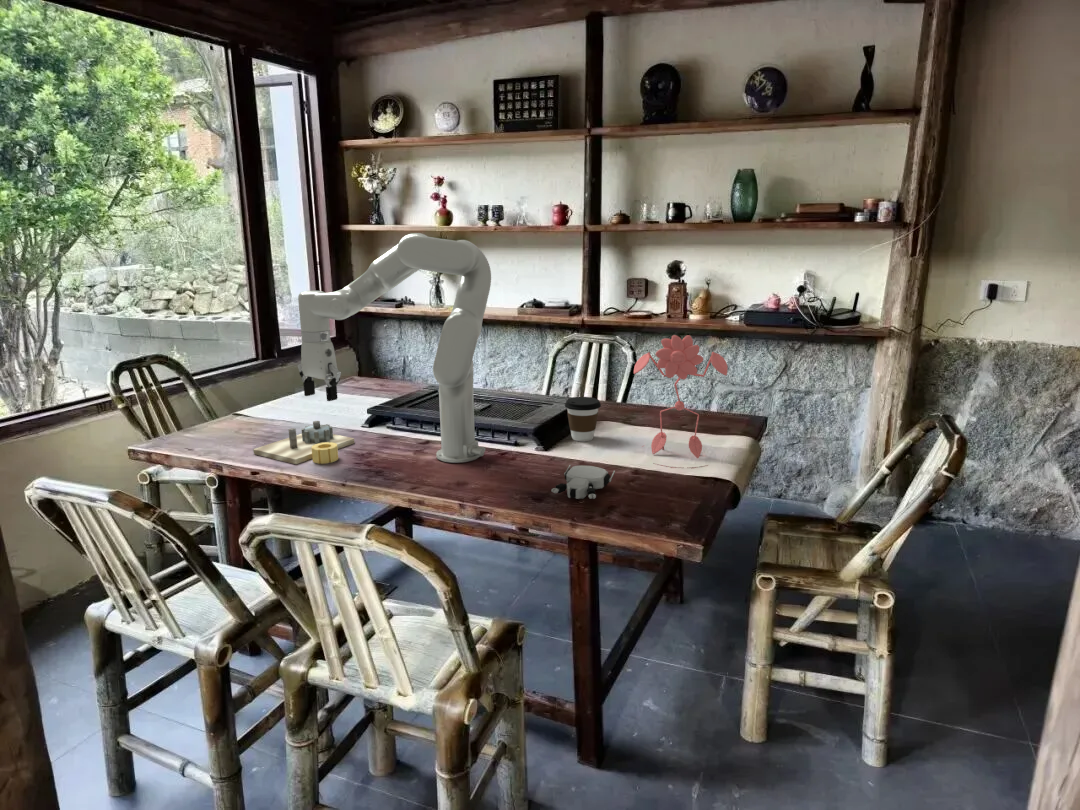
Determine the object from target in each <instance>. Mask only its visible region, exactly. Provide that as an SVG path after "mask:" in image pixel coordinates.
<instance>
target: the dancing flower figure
mask: <svg viewBox="0 0 1080 810" xmlns="http://www.w3.org/2000/svg"><path fill="white" fill-rule="evenodd" d="M660 342H661V343H660V344H661V345H662V347H663V348H659V349H657V350H656V352H655V357H656V358H658V360H657V362H656V361H655V359H654V358H653V357H652V356H653V355H651V352H650V351H649V352H647V353H643V355H642V356H640V357H639V358H638V360H637V361H636V362H635V364H634V368H633V374H634V375H637V374H638V373H639V372H640V371H642V370H643V369H644V368H645V367H646V366H648V363H649V362H650V360H651V361H652V362H653V364H654V365H655V366H656V367H655V368H657V370H658V371H659V373H661V375H662V376H663V378H664V377H667V379H672V378H674V376H675V375H676V376H677V377H678V378H677V379H676V380H675V382H674V385H673V386H674V388H675V389H674V390H675V393H676V396H677V401H675V403H674V406H672V407H669V408H666V409H662V410H660V411H659V420H660V422H659V423H660V432H658V433H657V434H656V435H655V436H654V437H653V439H652V442H651V445H650V447H651V454H652V455H655V454H657V453H659V452H661V450H662V451H664V450H665V445H666V442H667V434H666V433H665V432H664V431H663V423H662V422H663V420H662V413H663V412H666V411H668V410H672V409H675V410H677V411H683V410H686V411H687V412H690V413H693V414H695V415H697V419H696V423H695V424H696V425H695V429H694V434H693V435H691V436H689V439H688V448H689V451H690V453H692V455H693V456H694V457H695V458H696V459H700V456H701V454H702V451H703V444H702V441H701V439H700V438H699V437H698V436H697V432H698V424H699V419H700V414H699V413H697V412H695V411H692V410H691V409H689V408H687V407H685V403H684V401H682V400H680V395H679V390H678V386H677V385H678V383H679V381H680V380H687V377H688V375H690V376H697V377H701V378H704V377H705V375H706V374H707V372H708V369H709V366H710V364H711V365H712V367H713V368H714V369H715V370H716V371H717V372H718V373H720V374H722V375H723V376H727V374H728V364H727V361H726V359H725V358H724V357H723V356H722V355H720V354H719V353H717V352H715V351H712V352H711V355H710V357H709V360H708V362H707V365H706V367H705V370H704V372H703V374H700V373H698V368H697V367H696V366H698V365H700V364H701V363H703V361H704V357H703V355H702V356H701V355H700V354H699V352H700V346H699V345H698V344H694V340H693V338H692V336H691V335H690V334H689V335H687V334H686V335H685V336H684V337H683V339H682V338H681V337H680V336H678V335H677V334H676V335H675V334H673V335H672V336H671V339H670V338H666V337H665V338H662V339H661V341H660ZM662 369H664V371H665V372H663V370H662ZM643 447H644V445H642V446H641V448H643ZM652 464H654V465H657V466H663V467H664V465H662V464H658V463H654V462H653V463H652ZM708 466H709V464H706V465H705V467H708ZM665 467H666V468H670V469H680V468H681V469H683V467H681V466H680V467H679V466H678V467H676V466H667V465H665ZM703 467H704V465H701V466H699V468H703ZM697 468H698V466H692V467H688V469H697Z"/></svg>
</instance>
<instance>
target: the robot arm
mask: <svg viewBox="0 0 1080 810" xmlns="http://www.w3.org/2000/svg"><path fill="white" fill-rule="evenodd" d="M419 270H422V271H428V272H435V273H440V274H441V273H442V274H447V275H452V276H453V275H454V276H455V275H457V276H459V281H458V286H457V290H456V294H455V298H454V302H453V307H452V309H451V312H450V314H449V315H448V317H447V318H446V320H445V321H444V324H443V325H442V329H441V332H440V337H439V341H438V344H437V349H436V353H435V356H434V360H433V361H434V362H433V365H432V373H433V377H434V379H435V381H436V382H437V383H438V398H439V402H438V403H439V420H440V421H439V423H440V424H439V425H440V443H441V444H440V445H441V448H440V449H438V450H437V451H436V454H435V455H436V458H437V460H439V461H440V462H441V461H442V462H444V463H454V464H456V463H457V464H459V463H461V464H462V463H467V462H472V461H475V460H477V459H479V458H480V457H483V456H484V455H485V452H486V447H484V446H479V440H476V438H475V437H476V436H475V435H476V433H475V430H476V429H475V408H474V407H475V406H474V360H473V359H474V356H475V355H474V354H475V351H476V347H477V344H478V340H479V337H480V335H481V333H482V327H483V326H482V325H483V319H484V316H485V313H486V312H485V311H486V307H487V303H488V299H489V295H490V292H491V291H490V290H491V287H492V271H491V266H490V263H489V260H488V258H487V256H486V255H485V254H484V252H483V251H482V250H481V248H479V247H478V246H477V245H476V244H474V243H473V242H471V241H469V240H467V239H457V240H452V239H445V238H439V237H432V236H428V235H426V234H424V233H420V232H415V233H408V234H406V235H404V236H403V237H402V238H401V239H400V240H399V242H398V243H397V244H396V245H395V246H393V247H392V248H390V249H389V250H388V251H386V252H385V253H384V254H382V255H381V256H379V257H378V258H376V259H375V260H373V261H372V262H371V263H370V265H369V267H368V268H367V269H366V270H365V272H364V273H362V274H361V275H360V276H358V277H357V278H356V279H355V280H353V281H351V282H350V283H349V284H348V285H346V286H344V287H343V288H342V289H339V290H336V291H332V292H324V291H321V290H305V291H301V292H299V294H298V296H297V298H298V299H297V300H298V301H297V302H298V311H299V312H298V314H299V323H300V325H299V326H300V336H301V348H300V352H301V353H300V354H301V355H300V356H301V359H300V360H301V362H300V363H298V364H297V365H296V366H297V369H298V372H299V376H300V377H301V382H302V383H303V394H304V396H305V397H310V396H313V395H315V394H316V389H315V388H316V387H315V380H313V379H318V380H323V381H324V382H325V385H326V387H325V394H326V402H333V401H335V400H338V398H339V397H338V388H337V386H338V385H339V382H340V381H341V380H340V378H341V375H342V372H341V370H339V369H338V365H337V358H336V352H335V348H334V344H333V342H332V340H331V339H332V338H331V327H330V320H336V321H343V320H345V319H347V318H349V317H351V316H354V315H355V314H357V313H359V312H360V311H361V310H363V309H364V308H366V307H367V306H369V304H371V303H373V302H374V301H375V300H377V299H379V297H381V296H383V295H384V294H385V293H388V292H389V291H391V290H393V289H394V288H395V287H397V286H398V285H399V284H401V283H402V282H403V281H405V280H407V279H408V278H409V277H411V276H412V275H414V274H415V273H416V272H418V271H419Z"/></svg>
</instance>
